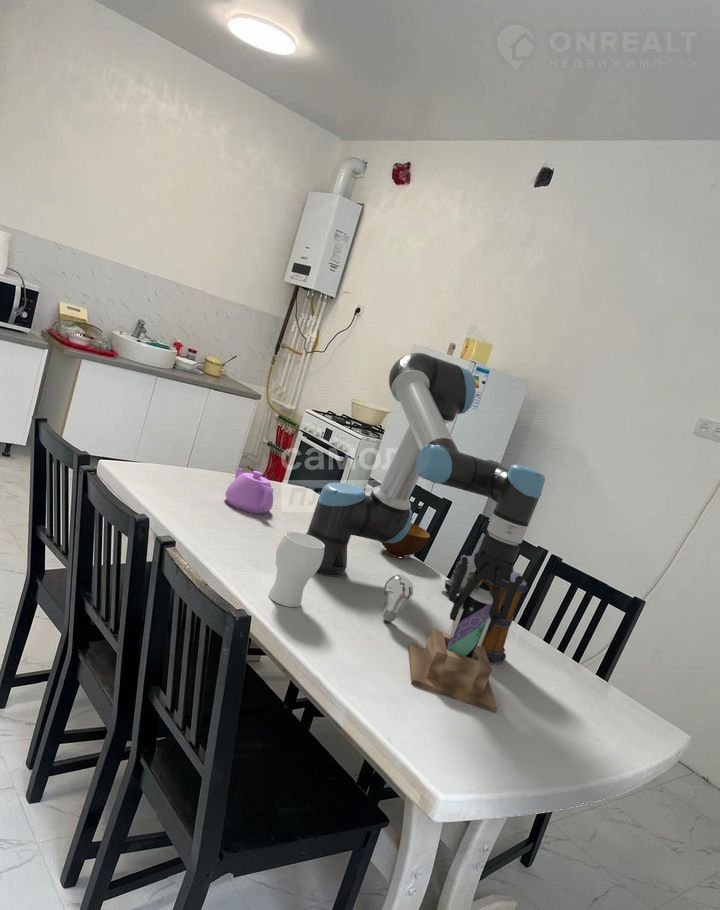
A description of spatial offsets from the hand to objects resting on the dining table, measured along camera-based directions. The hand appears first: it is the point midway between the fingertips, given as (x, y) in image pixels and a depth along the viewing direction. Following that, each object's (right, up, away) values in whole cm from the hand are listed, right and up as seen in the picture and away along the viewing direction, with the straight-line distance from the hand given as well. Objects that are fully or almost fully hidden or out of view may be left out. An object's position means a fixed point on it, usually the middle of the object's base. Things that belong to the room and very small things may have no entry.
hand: (464, 638), depth 146 cm
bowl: (-11, +6, +82) cm, 83 cm away
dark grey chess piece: (+5, -3, +59) cm, 59 cm away
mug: (+5, -8, +25) cm, 27 cm away
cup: (-40, +5, +13) cm, 42 cm away
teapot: (-59, +22, +79) cm, 101 cm away
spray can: (-2, -7, +1) cm, 7 cm away
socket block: (-3, -9, +1) cm, 9 cm away
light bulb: (-16, -2, +21) cm, 26 cm away
